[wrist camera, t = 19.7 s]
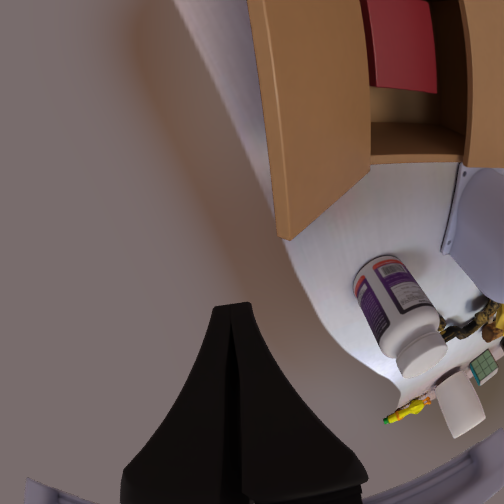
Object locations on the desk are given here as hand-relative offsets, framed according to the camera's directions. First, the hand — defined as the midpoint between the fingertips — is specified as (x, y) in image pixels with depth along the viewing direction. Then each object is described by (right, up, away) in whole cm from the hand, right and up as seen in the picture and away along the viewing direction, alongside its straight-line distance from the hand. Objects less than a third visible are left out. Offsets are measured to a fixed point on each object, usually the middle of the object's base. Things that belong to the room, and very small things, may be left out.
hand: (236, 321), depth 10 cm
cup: (+43, -24, +34) cm, 60 cm away
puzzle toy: (+53, -22, +34) cm, 67 cm away
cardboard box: (+9, +15, +2) cm, 18 cm away
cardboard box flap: (+2, +9, -6) cm, 11 cm away
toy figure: (+41, -30, +36) cm, 62 cm away
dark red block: (+7, +15, +2) cm, 17 cm away
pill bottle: (+12, 0, +13) cm, 18 cm away
